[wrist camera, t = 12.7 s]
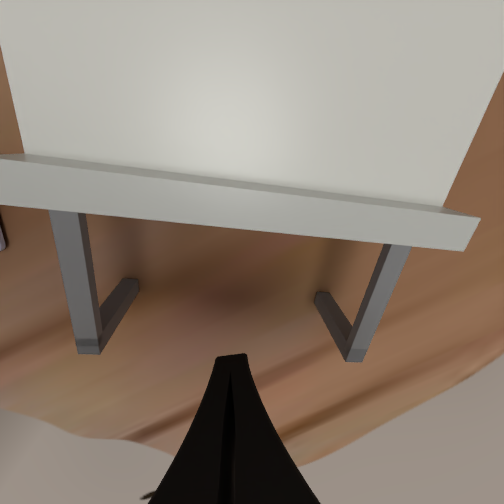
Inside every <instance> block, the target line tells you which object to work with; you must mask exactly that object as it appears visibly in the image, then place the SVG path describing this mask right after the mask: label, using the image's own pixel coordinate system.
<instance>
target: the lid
mask: <svg viewBox="0 0 504 504" xmlns="http://www.w3.org/2000/svg"><path fill="white" fill-rule="evenodd" d="M0 45H1V49H2V54H3V58H4V63H5V67H6V72H7V76H8V81H9V85H10V90H11V94H12V99H13V103H14V107H15V112H16V116H17V121H18V125H19V130H20V134H21V139H22V143H23V148H24V152H25V154H2V155H0V205H10V206H20V207H29V208H39V209H49V210H59V211H69V212H79V213H89V214H99V215H108V216H118V217H128V218H138V219H148V220H158V221H168V222H178V223H187V224H197V225H207V226H217V227H227V228H237V229H247V230H257V231H266V232H276V233H286V234H296V235H306V236H316V237H326V238H335V239H345V240H355V241H365V242H375V243H385V244H395V245H405V246H414V247H424V248H434V249H444V250H454V251H464V250H465V248H466V246H467V244H468V242H469V240H470V238H471V237H472V235H473V233H474V231H475V229H476V227H477V225H478V223H479V221H480V220H481V218H479V217H475V216H472V215H468V214H465V213H462V212H458V211H455V210H451V209H448V208H445V207H442V206H443V203H444V201H445V199H446V197H447V195H448V192H449V190H450V188H451V186H452V184H453V181H454V179H455V177H456V175H457V173H458V170H459V168H460V166H461V164H462V162H463V159H464V157H465V155H466V153H467V150H468V148H469V146H470V144H471V142H472V139H473V137H474V135H475V133H476V131H477V128H478V126H479V124H480V122H481V120H482V117H483V115H484V113H485V111H486V109H487V106H488V104H489V102H490V100H491V98H492V95H493V93H494V91H495V89H496V87H497V84H498V82H499V80H500V78H501V76H502V73H503V71H504V0H0Z"/></svg>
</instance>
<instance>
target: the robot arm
mask: <svg viewBox="0 0 504 504" xmlns="http://www.w3.org/2000/svg"><path fill="white" fill-rule="evenodd" d="M5 247H6V246H5V241H4V238H3V234H2V231H1V227H0V251H2V250H4V249H5ZM148 504H320V502H319V501H318V499H317V498H316V496H315V495H314V493H313V492H312V490H311V489H310V487H309V486H308V484H307V483H306V481H305V479H304V478H303V476H302V475H301V473H300V471H299V470H298V468H297V467H296V465H295V463H294V462H293V460H292V459H291V457H290V455H289V453H288V452H287V450H286V448H285V446H284V445H283V443H282V441H281V439H280V437H279V436H278V434H277V432H276V430H275V428H274V426H273V424H272V422H271V420H270V418H269V416H268V414H267V412H266V410H265V408H264V405H263V403H262V401H261V398H260V396H259V394H258V391H257V389H256V386H255V383H254V381H253V378H252V375H251V371H250V368H249V364H248V358H247V354H245V353H242V354H235V355H227V356H220V357H217V358H216V359H215V364H214V367H213V371H212V374H211V377H210V380H209V383H208V386H207V388H206V391H205V394H204V396H203V399H202V401H201V404H200V406H199V409H198V411H197V413H196V415H195V418H194V420H193V422H192V424H191V426H190V429H189V431H188V433H187V435H186V437H185V439H184V441H183V443H182V445H181V447H180V449H179V451H178V453H177V454H176V456H175V458H174V460H173V462H172V464H171V465H170V467H169V469H168V471H167V472H166V474H165V476H164V478H163V479H162V481H161V483H160V485H159V486H158V488H157V490H156V491H155V493H154V495H153V496H152V498H151V499H150V501H149V503H148Z"/></svg>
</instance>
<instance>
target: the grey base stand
mask: <svg viewBox="0 0 504 504" xmlns="http://www.w3.org/2000/svg"><path fill="white" fill-rule="evenodd" d="M48 210H49V209H48ZM49 215H50V219H51V224H52V229H53V234H54V239H55V244H56V249H57V254H58V258H59V263H60V268H61V273H62V278H63V283H64V288H65V292H66V297H67V302H68V307H69V312H70V317H71V322H72V327H73V331H74V336H75V341H76V346H77V351H78V354H98V355H100V354H101V352H102V350H103V349H104V347H105V346H106V344H107V342H108V341H109V339H110V338H111V336H112V334H113V333H114V331H115V329H116V328H117V326H118V325H119V323H120V321H121V320H122V318H123V316H124V315H125V313H126V312H127V310H128V308H129V307H130V305H131V304H132V302H133V300H134V299H135V297H136V295H137V294H138V292H139V286H138V279H125V278H123V279H122V280H121V281H120V282H119V284H118V285H117V286H116V287H115V289H114V290H113V291H112V292H111V294H110V295H109V296H108V297H107V299H106V300H105V301H104V302H103V304H102V305H101V306H100V307H99V303H98V297H97V290H96V283H95V276H94V269H93V262H92V255H91V248H90V241H89V234H88V227H87V220H86V213H79V212H69V211H59V210H49ZM411 248H412V246H405V245H395V244H385V243H384V245H383V248H382V251H381V253H380V256H379V258H378V261H377V264H376V266H375V269H374V272H373V274H372V277H371V279H370V282H369V285H368V287H367V290H366V293H365V295H364V298H363V300H362V303H361V306H360V308H359V311H358V314H357V316H356V319H355V322H354V324H353V327H352V325H351V324H350V322H349V321H348V319H347V318H346V316H345V315H344V313H343V312H342V311H341V309H340V308H339V306H338V305H337V303H336V302H335V300H334V299H333V297H332V296H331V294H330V293H327V292H317V294H316V297H315V301H314V304H315V305H316V307H317V309H318V311H319V313H320V315H321V317H322V319H323V320H324V322H325V324H326V326H327V328H328V330H329V332H330V334H331V335H332V337H333V339H334V341H335V343H336V345H337V347H338V349H339V350H340V352H341V354H342V356H343V358H344V360H345V362H362V361H363V359H364V356H365V354H366V352H367V350H368V347H369V345H370V343H371V340H372V338H373V336H374V333H375V331H376V329H377V326H378V324H379V322H380V319H381V317H382V315H383V313H384V310H385V308H386V306H387V303H388V301H389V299H390V296H391V294H392V292H393V289H394V287H395V285H396V282H397V280H398V278H399V275H400V273H401V271H402V269H403V266H404V264H405V262H406V259H407V257H408V255H409V252H410V250H411Z"/></svg>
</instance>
